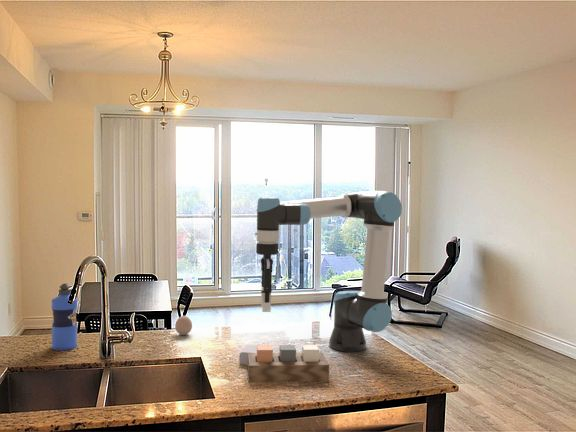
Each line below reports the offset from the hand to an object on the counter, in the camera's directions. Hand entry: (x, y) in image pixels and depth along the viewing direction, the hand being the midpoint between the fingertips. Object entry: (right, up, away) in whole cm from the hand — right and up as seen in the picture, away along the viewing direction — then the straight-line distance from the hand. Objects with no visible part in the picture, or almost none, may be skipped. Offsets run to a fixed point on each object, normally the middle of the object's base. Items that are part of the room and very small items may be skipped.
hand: (265, 308), depth 178 cm
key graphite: (+7, -20, +2) cm, 21 cm away
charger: (-5, -22, +18) cm, 29 cm away
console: (+7, -23, +2) cm, 24 cm away
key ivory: (+15, -20, +3) cm, 25 cm away
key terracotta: (-1, -20, +1) cm, 20 cm away
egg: (-38, -20, +46) cm, 63 cm away
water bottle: (-80, -20, +25) cm, 86 cm away
